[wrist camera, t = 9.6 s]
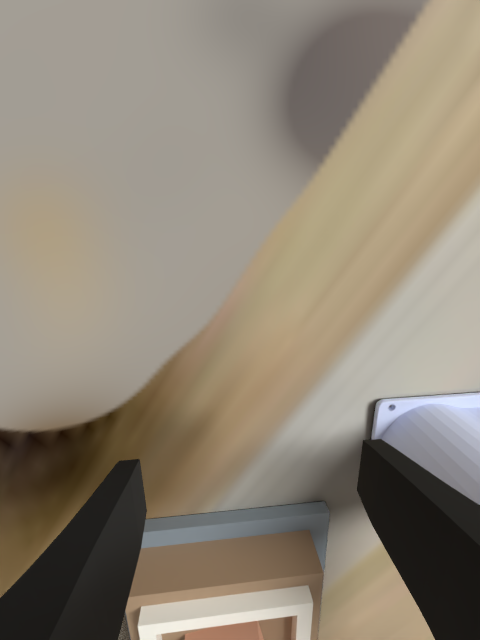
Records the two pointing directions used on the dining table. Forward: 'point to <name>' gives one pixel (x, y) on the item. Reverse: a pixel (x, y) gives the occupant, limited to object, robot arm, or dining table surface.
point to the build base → (231, 573)
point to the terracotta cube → (228, 632)
